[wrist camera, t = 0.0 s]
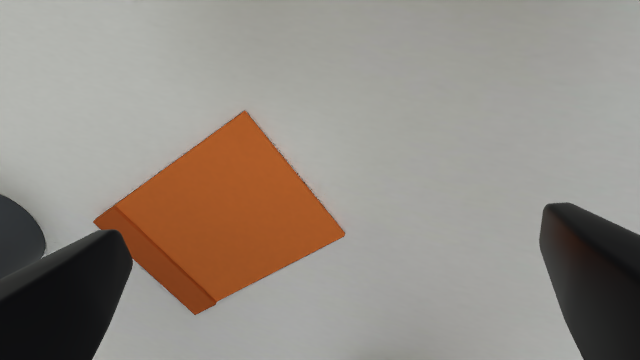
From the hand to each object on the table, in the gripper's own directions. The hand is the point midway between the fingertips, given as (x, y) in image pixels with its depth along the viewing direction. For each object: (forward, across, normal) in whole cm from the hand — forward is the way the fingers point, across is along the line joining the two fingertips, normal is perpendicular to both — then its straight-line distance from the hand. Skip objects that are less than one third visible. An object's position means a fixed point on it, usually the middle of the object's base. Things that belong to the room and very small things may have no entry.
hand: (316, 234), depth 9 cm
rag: (+15, +10, +10) cm, 20 cm away
